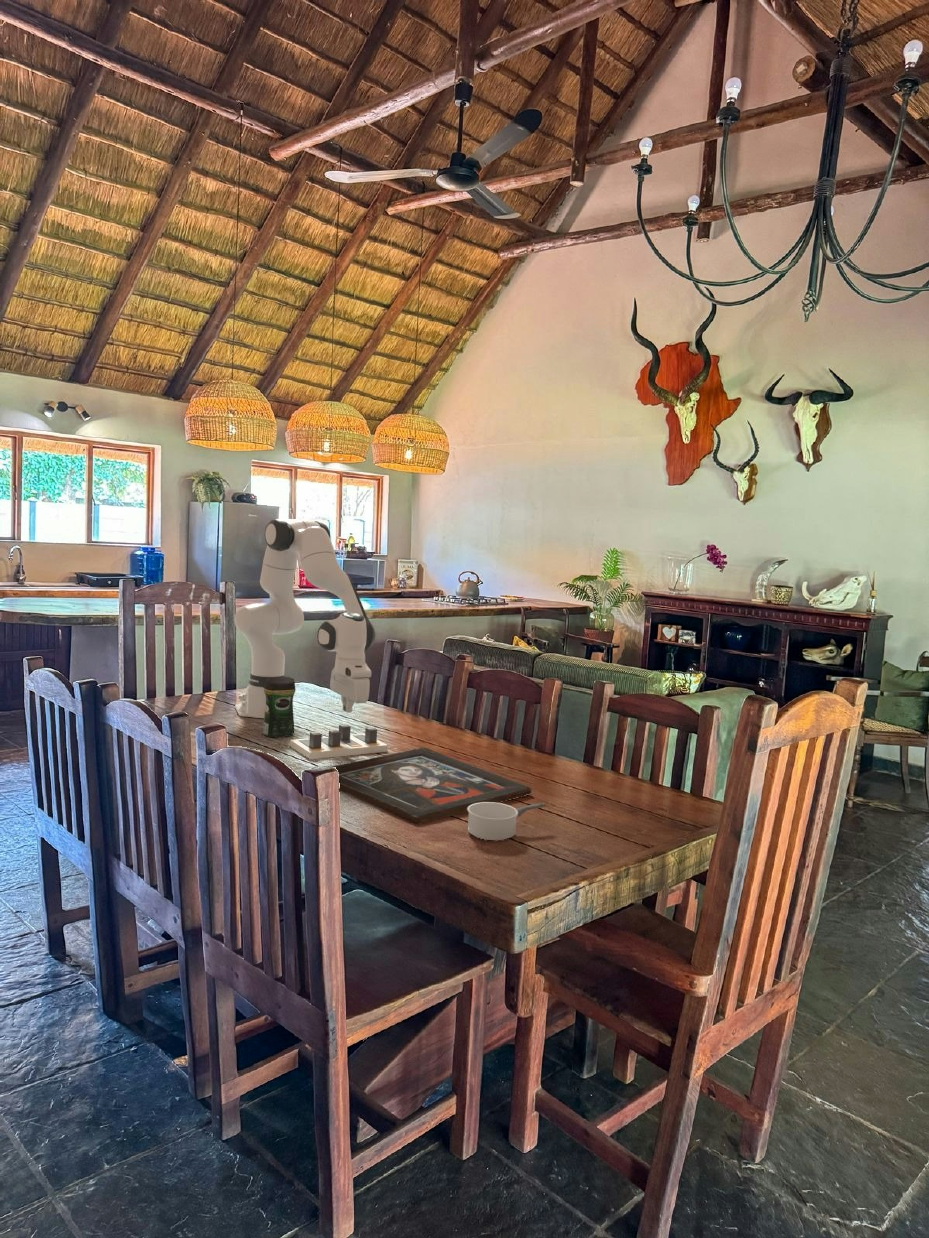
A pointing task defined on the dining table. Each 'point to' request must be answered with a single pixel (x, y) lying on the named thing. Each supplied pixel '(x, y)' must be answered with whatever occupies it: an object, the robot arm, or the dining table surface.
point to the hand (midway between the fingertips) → (347, 711)
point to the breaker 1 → (315, 739)
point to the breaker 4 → (371, 735)
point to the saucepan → (495, 819)
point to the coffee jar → (279, 707)
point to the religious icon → (424, 784)
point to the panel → (338, 747)
